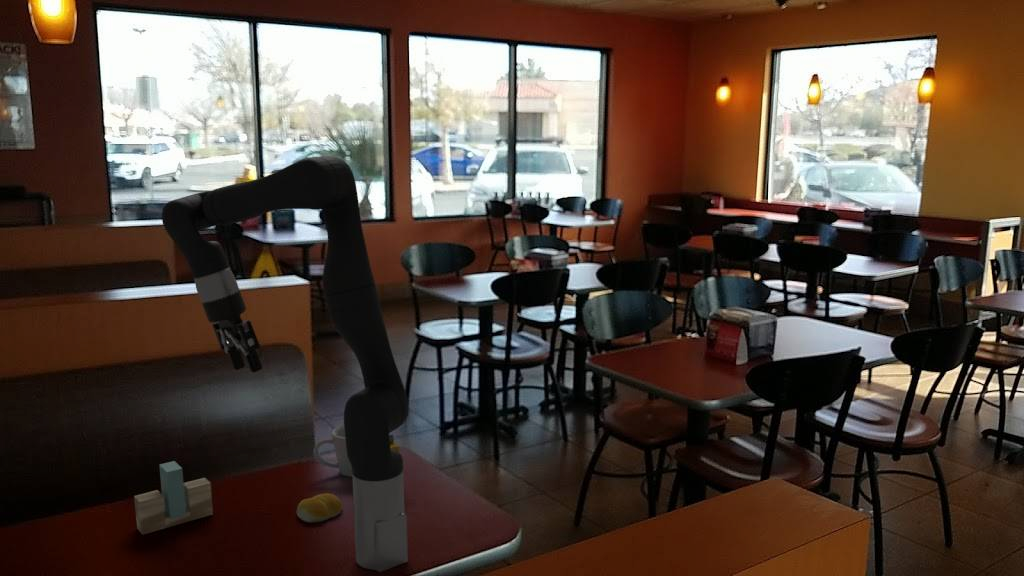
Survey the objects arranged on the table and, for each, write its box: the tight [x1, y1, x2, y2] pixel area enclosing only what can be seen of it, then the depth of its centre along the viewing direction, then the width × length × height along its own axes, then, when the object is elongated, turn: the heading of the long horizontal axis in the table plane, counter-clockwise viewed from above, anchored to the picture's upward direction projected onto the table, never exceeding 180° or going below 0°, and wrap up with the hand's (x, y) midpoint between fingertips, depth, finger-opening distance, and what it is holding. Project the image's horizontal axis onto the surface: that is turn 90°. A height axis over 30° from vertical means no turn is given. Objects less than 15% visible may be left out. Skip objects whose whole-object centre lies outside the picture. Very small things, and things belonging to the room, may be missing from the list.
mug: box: [312, 424, 353, 478], centre depth 190 cm, size 10×15×10 cm
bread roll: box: [296, 493, 342, 523], centre depth 170 cm, size 8×9×4 cm
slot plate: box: [133, 477, 214, 535], centre depth 166 cm, size 4×14×7 cm, turn 129°
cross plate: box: [159, 460, 186, 519], centre depth 166 cm, size 5×3×10 cm, turn 39°
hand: (248, 369), depth 163 cm, fingers open, 8 cm apart
